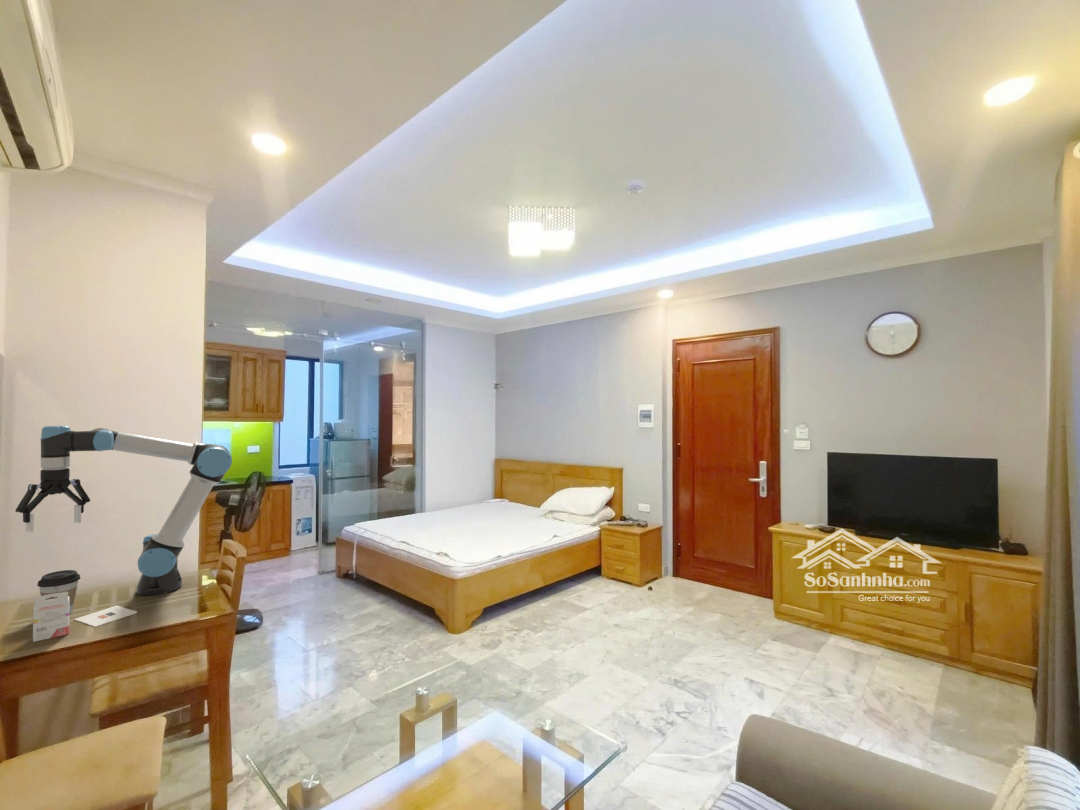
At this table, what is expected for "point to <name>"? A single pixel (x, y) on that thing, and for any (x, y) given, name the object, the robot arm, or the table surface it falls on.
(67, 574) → the coffee cup
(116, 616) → the pad
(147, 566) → the robot arm
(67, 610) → the ink cartridge box
